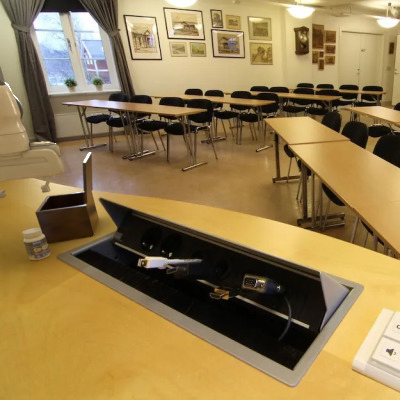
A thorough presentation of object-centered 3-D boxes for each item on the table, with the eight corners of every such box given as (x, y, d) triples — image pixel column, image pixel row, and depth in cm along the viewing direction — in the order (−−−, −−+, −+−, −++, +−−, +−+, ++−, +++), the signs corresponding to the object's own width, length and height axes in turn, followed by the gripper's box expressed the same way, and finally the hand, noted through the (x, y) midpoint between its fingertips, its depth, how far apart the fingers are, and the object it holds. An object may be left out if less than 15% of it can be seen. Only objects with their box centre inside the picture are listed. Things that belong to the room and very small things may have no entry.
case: (45, 244, 99) (35, 212, 95) (55, 224, 112) (47, 195, 108) (94, 235, 105) (86, 205, 101) (98, 218, 118) (91, 190, 114)
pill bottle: (38, 261, 90) (29, 235, 87) (25, 259, 91) (15, 233, 88) (55, 253, 94) (46, 227, 91) (41, 251, 95) (33, 226, 92)
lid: (82, 162, 97) (85, 162, 97) (88, 152, 110) (91, 152, 110) (84, 204, 101) (87, 204, 101) (89, 189, 113) (92, 189, 114)
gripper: (59, 138, 90) (73, 185, 95) (-42, 145, 80) (-21, 196, 85) (55, 142, 84) (69, 192, 89) (-54, 150, 75) (-31, 204, 80)
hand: (24, 194), depth 87 cm, fingers open, 8 cm apart
